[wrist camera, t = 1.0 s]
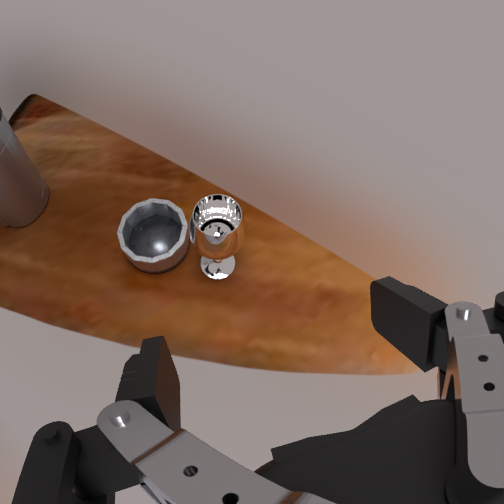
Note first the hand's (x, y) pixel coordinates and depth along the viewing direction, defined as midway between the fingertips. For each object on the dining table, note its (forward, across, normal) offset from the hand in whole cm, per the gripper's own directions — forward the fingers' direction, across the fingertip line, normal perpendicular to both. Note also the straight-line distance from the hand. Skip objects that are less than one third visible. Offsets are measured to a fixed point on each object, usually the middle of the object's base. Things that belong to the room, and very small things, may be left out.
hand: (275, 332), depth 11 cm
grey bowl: (+32, +8, +1) cm, 33 cm away
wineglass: (+30, +1, +5) cm, 30 cm away
